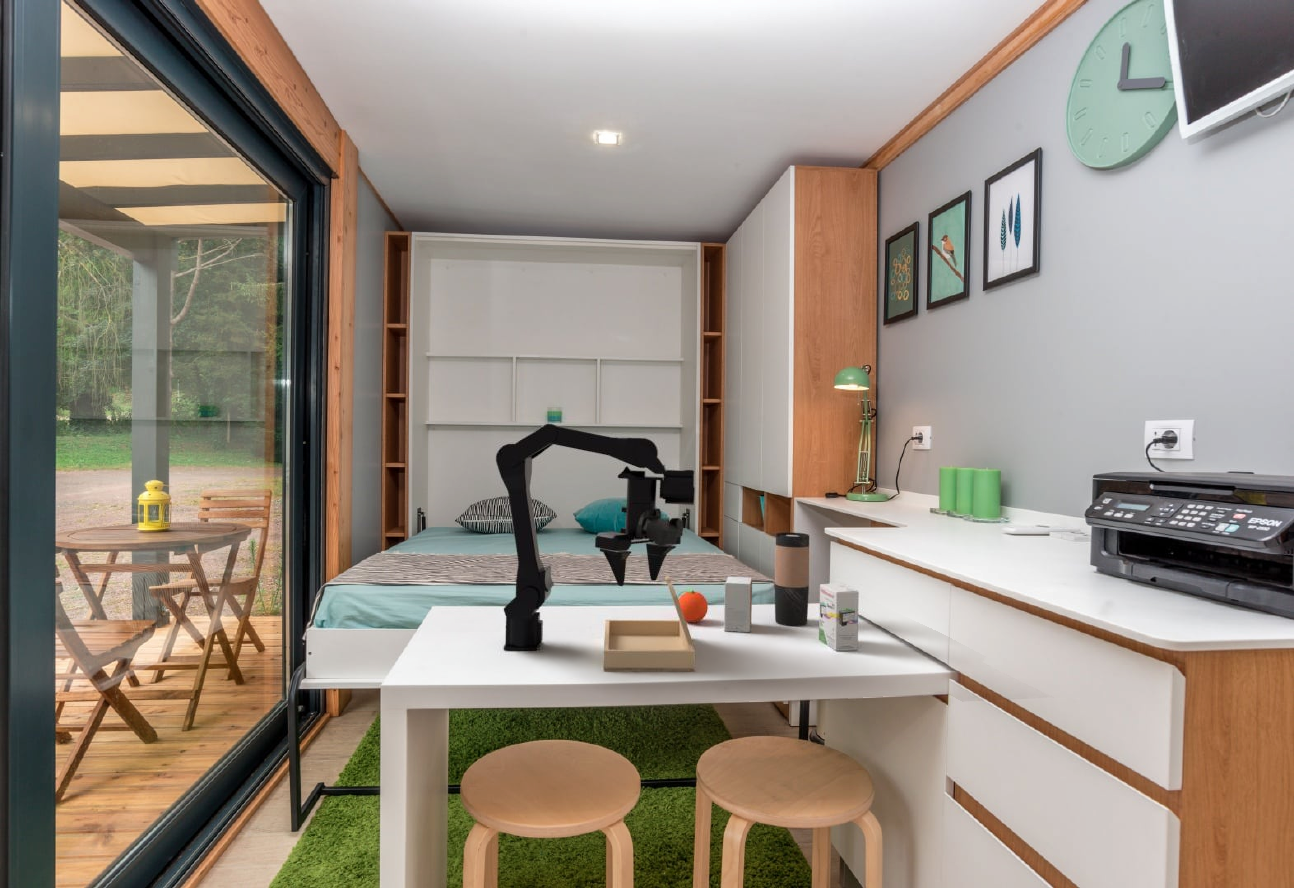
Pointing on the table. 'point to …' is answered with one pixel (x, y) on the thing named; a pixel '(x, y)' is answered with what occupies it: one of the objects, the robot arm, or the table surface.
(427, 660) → the table surface
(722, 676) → the table surface
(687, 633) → the carton flap
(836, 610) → the ink box
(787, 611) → the travel mug
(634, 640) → the carton
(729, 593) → the small box
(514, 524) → the robot arm
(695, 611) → the clementine
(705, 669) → the table surface
